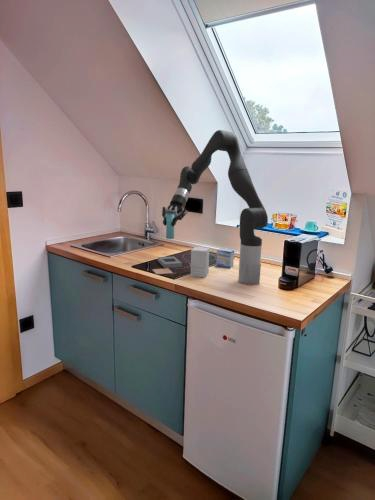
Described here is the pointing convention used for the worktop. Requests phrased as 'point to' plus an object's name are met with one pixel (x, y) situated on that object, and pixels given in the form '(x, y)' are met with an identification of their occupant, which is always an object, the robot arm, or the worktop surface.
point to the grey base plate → (169, 262)
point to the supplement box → (199, 262)
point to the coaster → (162, 271)
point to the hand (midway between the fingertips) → (168, 224)
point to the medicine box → (225, 258)
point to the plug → (169, 224)
